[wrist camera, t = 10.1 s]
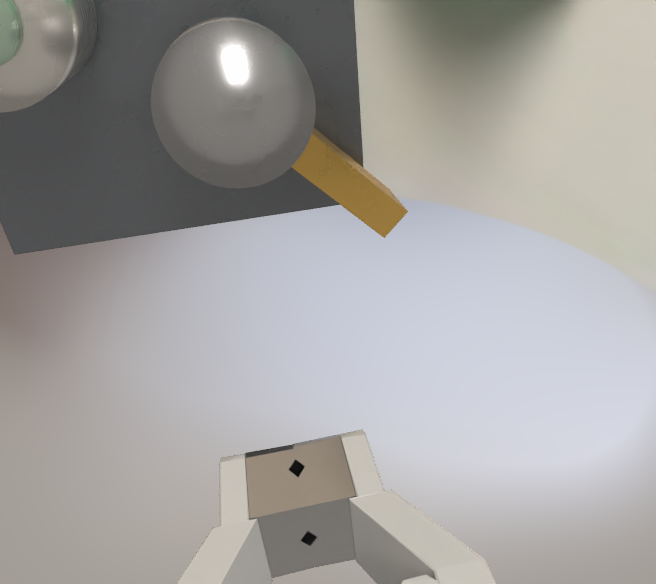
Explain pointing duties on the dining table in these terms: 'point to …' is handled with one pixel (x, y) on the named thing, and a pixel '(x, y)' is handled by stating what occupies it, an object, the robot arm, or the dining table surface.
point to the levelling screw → (254, 118)
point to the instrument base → (141, 116)
